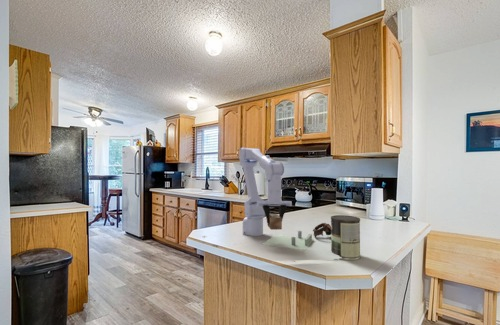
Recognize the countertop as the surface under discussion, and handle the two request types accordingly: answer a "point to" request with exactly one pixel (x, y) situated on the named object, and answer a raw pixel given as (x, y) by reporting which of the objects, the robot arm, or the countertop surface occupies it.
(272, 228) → the brown block
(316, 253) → the countertop surface
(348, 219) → the coffee can
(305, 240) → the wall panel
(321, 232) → the brown clay pot
